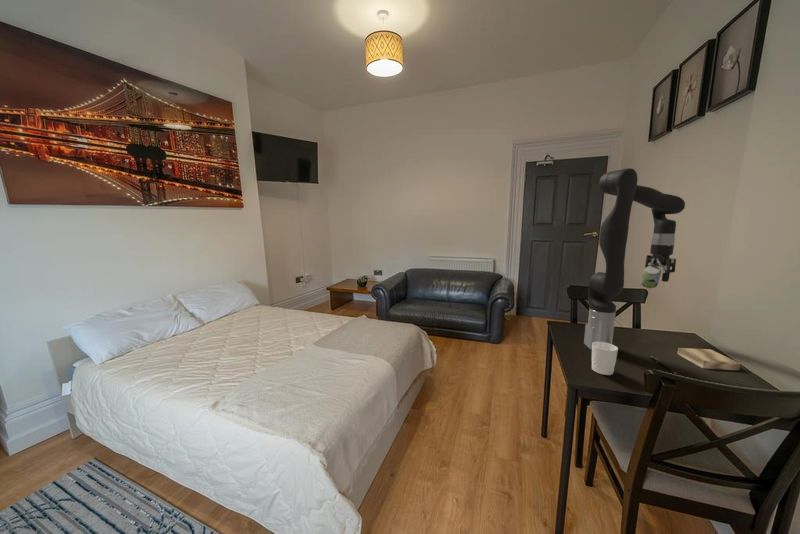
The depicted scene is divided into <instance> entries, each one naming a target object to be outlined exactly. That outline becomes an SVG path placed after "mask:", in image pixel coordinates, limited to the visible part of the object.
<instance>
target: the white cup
mask: <svg viewBox="0 0 800 534" xmlns="http://www.w3.org/2000/svg"><path fill="white" fill-rule="evenodd" d="M618 352H619V348H618V346H616V345H614V344H613V343H612V344H609V343H605V342H593V343H592V349H591V370H592V371H594V372H595V373H597V374H600V375H603V376H611V375H613V374H614V371H615V366H616V362H617V357H618Z"/></svg>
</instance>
